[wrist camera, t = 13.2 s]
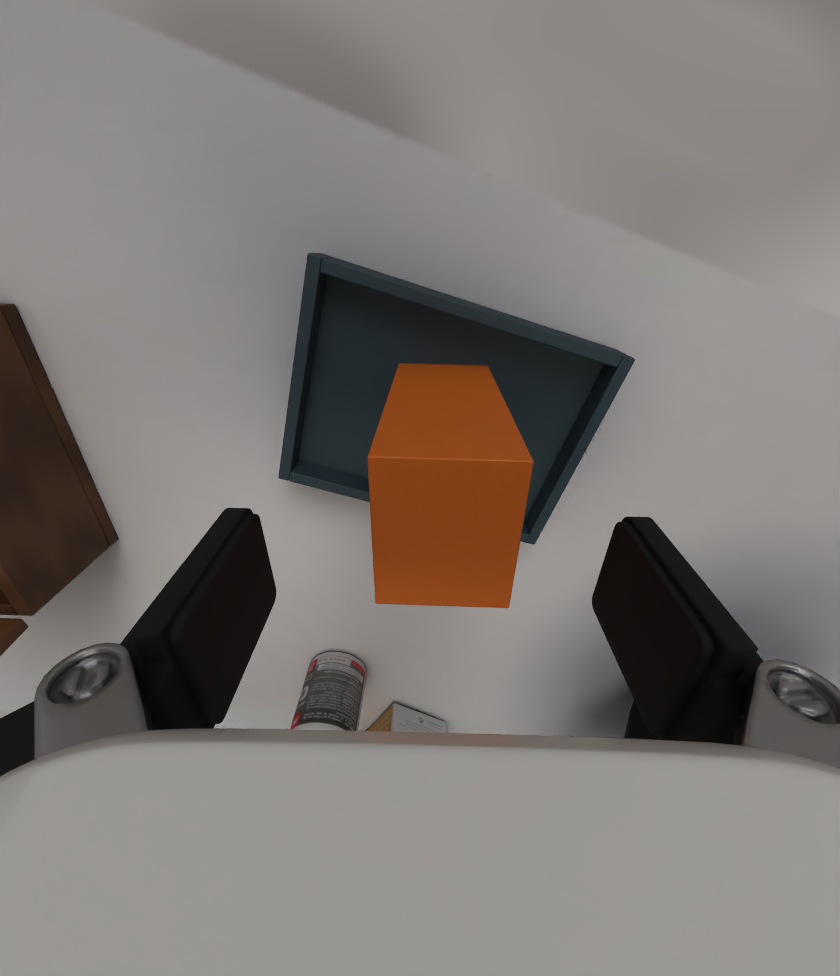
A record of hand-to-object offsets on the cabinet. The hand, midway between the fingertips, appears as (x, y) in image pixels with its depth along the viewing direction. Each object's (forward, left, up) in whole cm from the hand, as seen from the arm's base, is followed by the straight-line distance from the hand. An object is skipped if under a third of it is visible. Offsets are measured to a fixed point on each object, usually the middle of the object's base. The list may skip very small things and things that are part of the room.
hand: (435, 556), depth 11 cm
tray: (+1, 0, -13) cm, 13 cm away
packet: (+1, 0, -12) cm, 12 cm away
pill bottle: (+14, -19, -13) cm, 27 cm away
